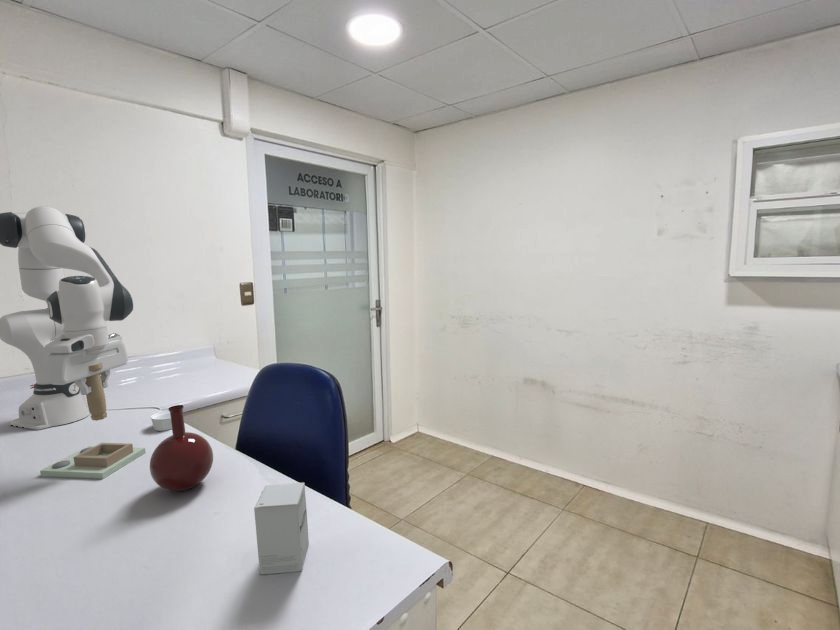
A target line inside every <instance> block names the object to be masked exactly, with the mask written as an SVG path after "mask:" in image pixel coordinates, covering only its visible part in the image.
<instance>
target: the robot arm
mask: <svg viewBox="0 0 840 630" xmlns="http://www.w3.org/2000/svg"><path fill="white" fill-rule="evenodd" d="M86 228H87V227H86V225H85V224H84V221H83V220H82V219H81V218H80V217H79V216H76V215H72V214H68V213H65V214H63V213H62V212H61V211H60V210H59V209H57V208H54V207H52V206H48V205H47V206H45V205H42V206H35V207H33V208H31V209H30V210H28V211H27V212H12V211H9V212H0V245H1V246H2V247H7V248H14V249H17V248H18V249H17V262H18V270H19V271H18V272H19V277H20V286H21V290H22V292H24V294H26V295H27V296H29V297H31V298H33V299H37V300H41V301H45V303H46V305H47V308H40V309H39V308H38V309H32V310H31V309H29V310H20V311H16V312H11V313H8V314H5V315H2V316H1V317H0V340H1V341H2V342H3V343H5V344H7V345H9V346H12V347H15V348H16V349H18V350H20V351H21V352H23V354H24V355H25V356H27V358H28V359H29V361H30V363H31V364H32V368H33V373H34V377H35V382H36V383H35V384H31V385H30V388H29V389H33V391H32V392H33V393H32V395H31V396H29V398H27V399H26V400H25V401H24V402H23V403H21V404H20V405H19V407H18V418H16V419H14V420H12V421H11V422H10V425H13V426H12V427H16V426H18V427H17V428H22V427H24V429H29V430H35V431H36V430H43V429H44V430H45V429H48V428H51V427H56V426H62V425H66V424H70V423H73V422H77V421H80V420H82V419H84V418H87V417H88V416H89V415H91V414H90V412H89V408H88V404H87V400H86V398H85V396H86V395H87V394H90V393H91V392H92V391H91V387H88V386H87V385H86V384H85V382H86V377H89V376H92V375H95V374H98V373H100V377H101V381H102V385H103V389H106V388H107V387H109V384H108V380H109V377H110V375H111V370H113V369H117V368H119V367H122V366H125V365H126V364H128V360H129V358H128V354H127V350H126V346H125V344H124V341H123V338H122V336H121V335H120V334H119V333H118V334H117V333H115V332H114V333H110V334H109V332H108V325H107V322H108V321H109V322H116V321H117V322H118V321H121V322H122V321H124V320H125V319H126V318H127V317H129V315H130V314H132V312H133V311H134V301H133V297H132V295H131V293H130V292H129V290H128V288H126V287H125V286H124V285H123V284H122V283H121V282H120V281H119V279H118V278H117V276H116V275H115V273H114V272H113V271H112V269H111V268H110V266H109V265H108V264H107V262H106V261H105V259H104V258H103V257H102V255H101V253H99V252H98V251H97V249H95V248H93V247H92V246H91V247H90V246H88V245H87V244H85V241H86V238H87V229H86ZM66 269H67V270H70V271H71V270H73V271H76V272H77V271H78V272H82V273H85V274H87V275H85V276H84V275H73V276H71V275H70V276H65V270H66ZM89 275H90V276H89ZM101 362H102V369H100V370H98V371H96V372H92V371H89V366H91V365H95V364H98V363H101ZM126 366H127V365H126Z"/></svg>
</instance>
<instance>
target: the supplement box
mask: <svg viewBox="0 0 840 630" xmlns="http://www.w3.org/2000/svg"><path fill="white" fill-rule="evenodd" d="M306 497H307V496H306V485H305V482H293V483H283V484H281V483H280V484H271V485H269V484H267V485H265V486H264V487H263V490H262V492H261V494H260V496H259V498H258V500H257V502H256V504H255V506H254V507H253V508H254V509H253V511H254V521H255V523H254V524H255V535H256V542H257V554H258V556H257V557H258V566H259V567H258V568H259V575H272V574H273V575H274V574H284V573H285V574H286V573H297V572H301V571H302V570H303V566H304V562H305V558H306V555H307V550H308V547H309V544H310V543H309V542H310V541H309V540H310V539H309V528H308V527H309V526H308V512H307V511H308V510H307V509H308V508H307V498H306Z"/></svg>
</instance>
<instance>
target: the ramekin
mask: <svg viewBox="0 0 840 630" xmlns="http://www.w3.org/2000/svg"><path fill="white" fill-rule="evenodd" d="M150 420H151V422H152V427H153V429H154V430H155V431H158V432H164V431H169V430H172V424H171V416H170V411H169V409H165V410H161V411H158V412H155V413H154V414H152V415H150Z"/></svg>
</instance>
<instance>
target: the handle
mask: <svg viewBox="0 0 840 630" xmlns="http://www.w3.org/2000/svg"><path fill="white" fill-rule="evenodd" d="M100 369H102V362H101V363H98V364H95V365H91V366H89V371H92V372H96V371H98V370H100ZM100 376H101V375H100V373H98V374H95V375H92V376H89V377H86V382H85V384H86V385H87V386H88V387H91V391H92V392H91V393H90V394H87V395H85V396H86V398H85V399H86V404H87V406H88V408H89V412H90V414H89V415H90V418H91V421H96V422H97V421H100V420H101V421H102V420H104V419H105V418H107V417H108V416H107V415H108V412H107V400H106V399H107V398H106V395H105V390H104V389H105V388H103V385H102V381H101V377H100Z"/></svg>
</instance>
